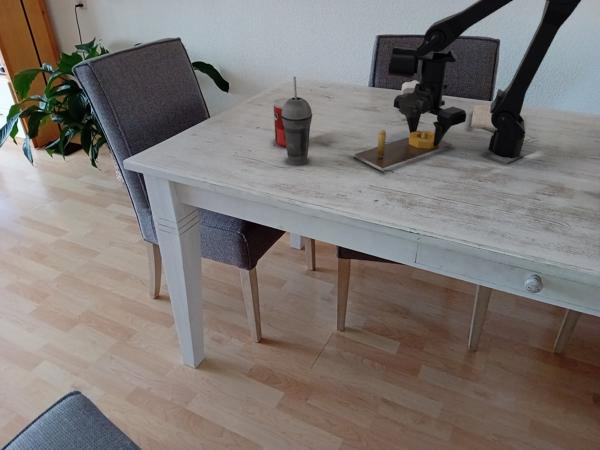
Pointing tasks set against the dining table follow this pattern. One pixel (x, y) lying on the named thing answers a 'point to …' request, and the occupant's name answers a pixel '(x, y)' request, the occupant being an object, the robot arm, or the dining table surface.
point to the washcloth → (482, 118)
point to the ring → (422, 143)
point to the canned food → (279, 121)
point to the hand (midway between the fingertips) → (423, 141)
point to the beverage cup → (297, 128)
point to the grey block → (408, 87)
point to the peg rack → (394, 151)
